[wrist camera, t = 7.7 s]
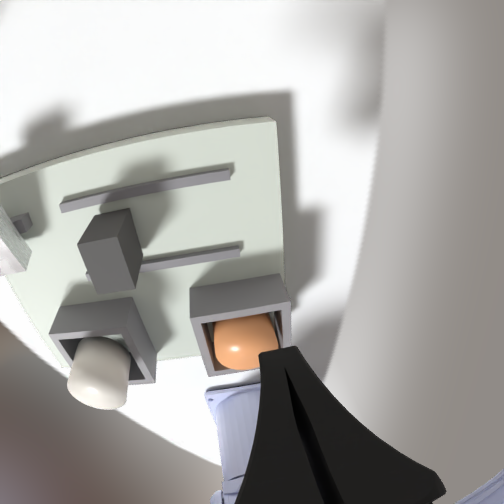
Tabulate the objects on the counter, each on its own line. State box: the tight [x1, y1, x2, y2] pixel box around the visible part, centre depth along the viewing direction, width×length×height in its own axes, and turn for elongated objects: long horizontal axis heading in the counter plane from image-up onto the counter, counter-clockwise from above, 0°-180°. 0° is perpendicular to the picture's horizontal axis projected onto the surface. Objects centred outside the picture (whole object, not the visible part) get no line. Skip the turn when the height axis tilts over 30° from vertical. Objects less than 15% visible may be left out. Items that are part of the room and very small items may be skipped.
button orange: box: [212, 312, 278, 370], centre depth 19 cm, size 4×4×3 cm
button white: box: [67, 336, 131, 409], centre depth 16 cm, size 4×4×3 cm
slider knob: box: [77, 208, 143, 295], centre depth 14 cm, size 3×2×3 cm
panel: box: [0, 116, 291, 385], centre depth 17 cm, size 15×18×5 cm
